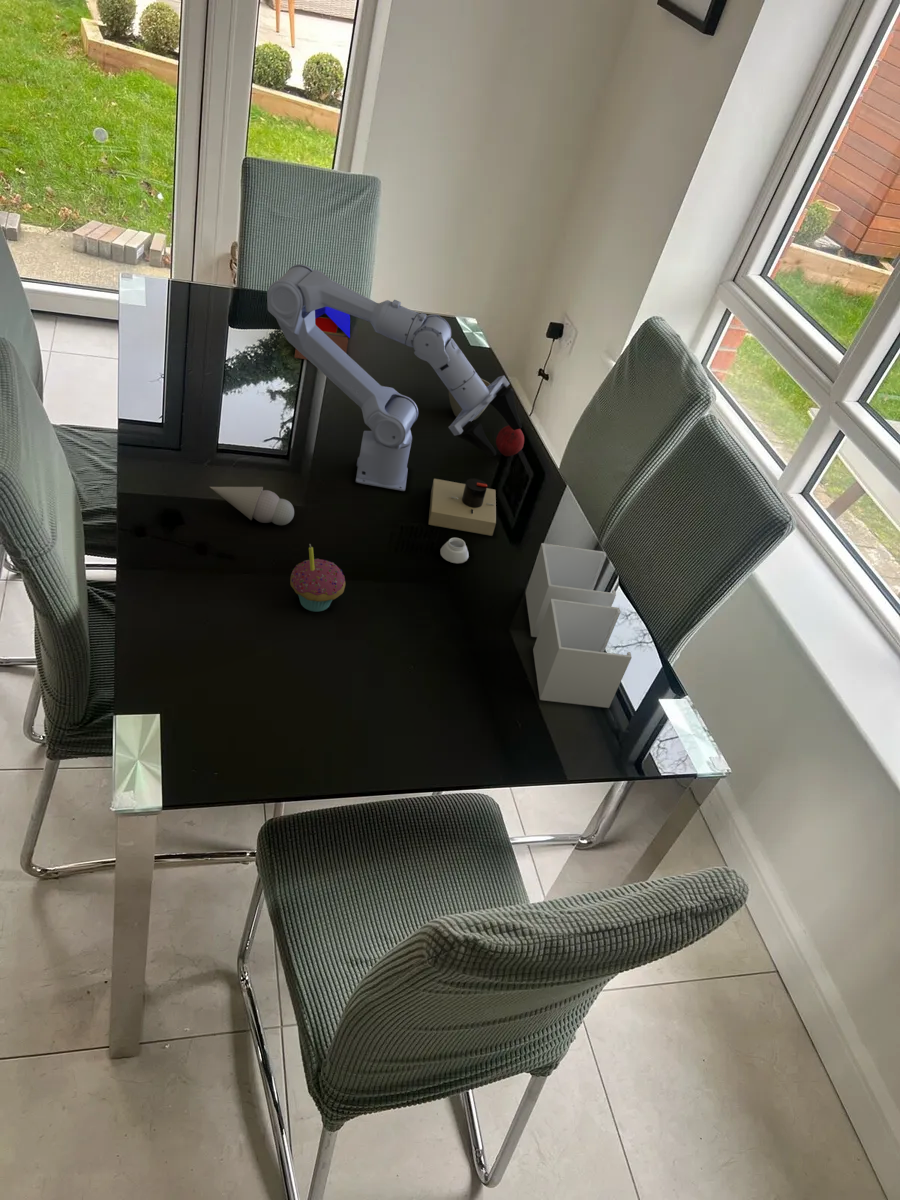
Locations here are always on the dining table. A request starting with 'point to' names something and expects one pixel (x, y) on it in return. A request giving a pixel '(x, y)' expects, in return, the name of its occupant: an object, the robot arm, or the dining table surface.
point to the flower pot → (456, 406)
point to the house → (332, 327)
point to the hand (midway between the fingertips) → (505, 441)
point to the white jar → (455, 551)
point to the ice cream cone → (258, 504)
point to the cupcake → (317, 582)
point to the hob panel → (461, 509)
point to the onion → (509, 441)
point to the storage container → (573, 628)
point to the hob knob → (474, 493)
